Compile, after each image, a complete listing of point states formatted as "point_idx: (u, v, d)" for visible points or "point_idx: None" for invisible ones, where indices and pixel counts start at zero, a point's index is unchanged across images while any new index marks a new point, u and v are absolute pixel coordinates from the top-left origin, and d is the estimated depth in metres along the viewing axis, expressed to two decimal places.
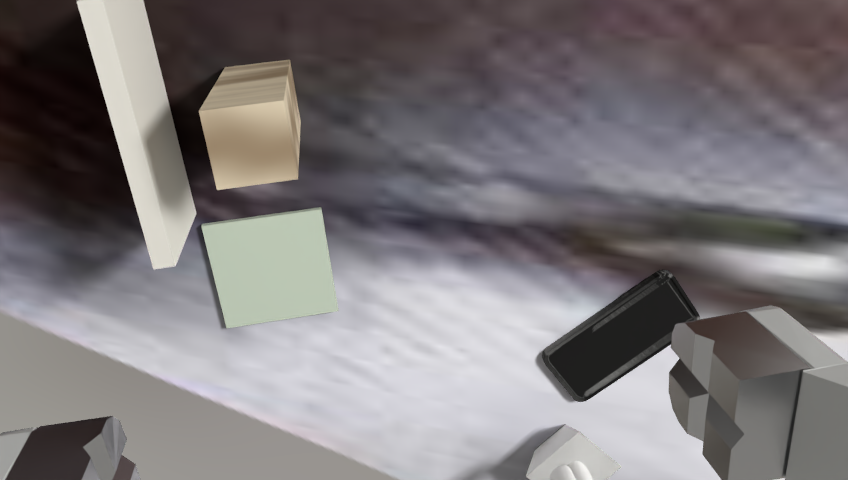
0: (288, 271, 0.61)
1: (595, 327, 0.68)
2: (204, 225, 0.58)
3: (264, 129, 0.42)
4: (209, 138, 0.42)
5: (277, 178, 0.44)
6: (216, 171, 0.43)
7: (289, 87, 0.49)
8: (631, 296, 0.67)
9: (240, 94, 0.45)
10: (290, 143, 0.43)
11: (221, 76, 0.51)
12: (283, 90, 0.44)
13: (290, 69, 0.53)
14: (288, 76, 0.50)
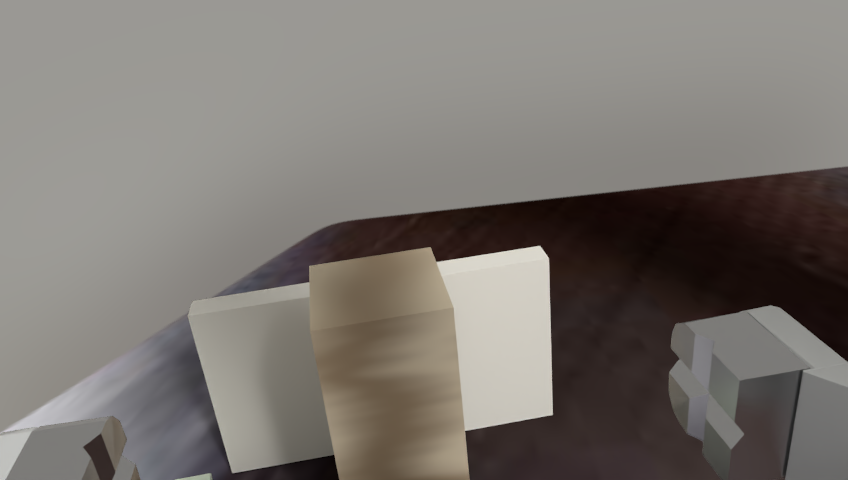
0: None
1: None
2: (210, 478, 0.37)
3: (403, 294, 0.26)
4: (390, 256, 0.28)
5: (315, 311, 0.25)
6: (338, 263, 0.28)
7: (448, 474, 0.27)
8: None
9: None
10: (377, 319, 0.24)
11: None
12: (458, 373, 0.26)
13: None
14: None
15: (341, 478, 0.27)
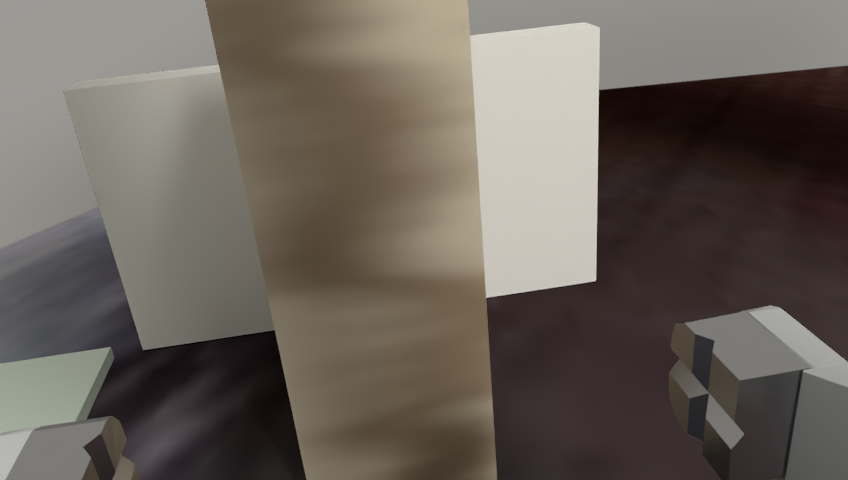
0: None
1: None
2: (109, 353, 0.26)
3: None
4: None
5: None
6: None
7: (450, 273, 0.16)
8: None
9: None
10: None
11: None
12: (470, 69, 0.15)
13: (476, 440, 0.18)
14: (476, 308, 0.17)
15: (266, 269, 0.16)
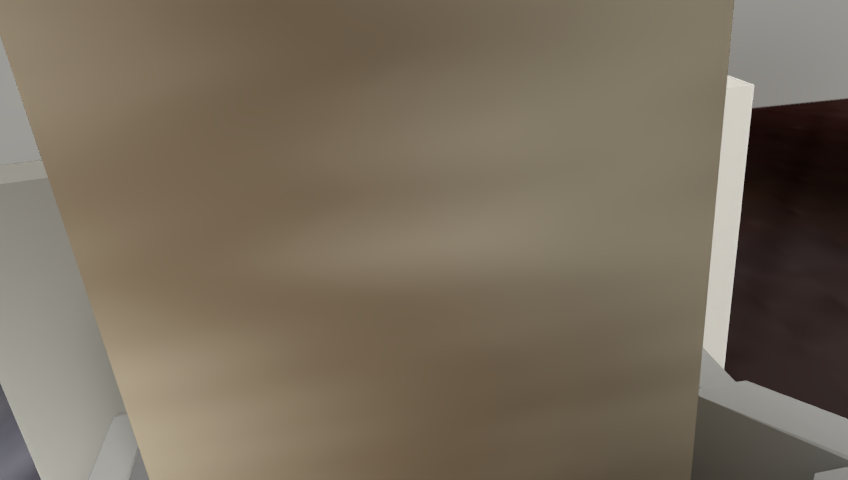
0: None
1: None
2: None
3: None
4: None
5: None
6: None
7: None
8: None
9: None
10: None
11: None
12: None
13: None
14: None
15: None
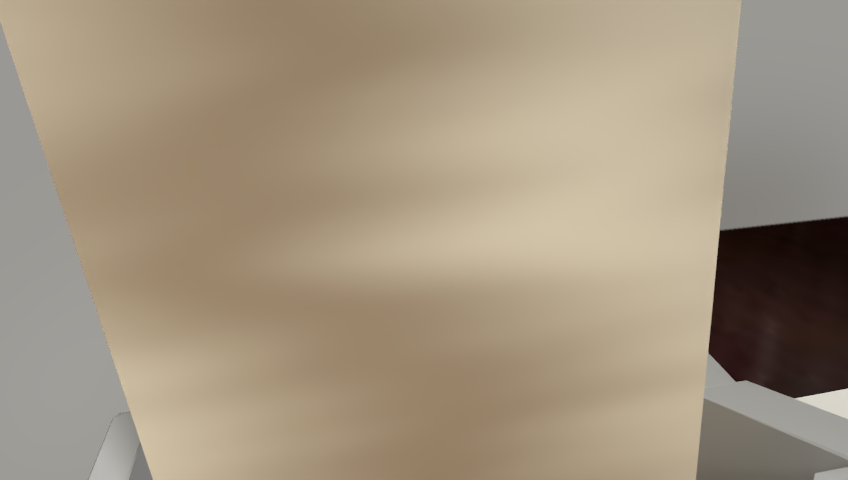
0: None
1: None
2: None
3: None
4: None
5: None
6: None
7: None
8: None
9: None
10: None
11: None
12: (707, 275, 0.06)
13: None
14: None
15: None
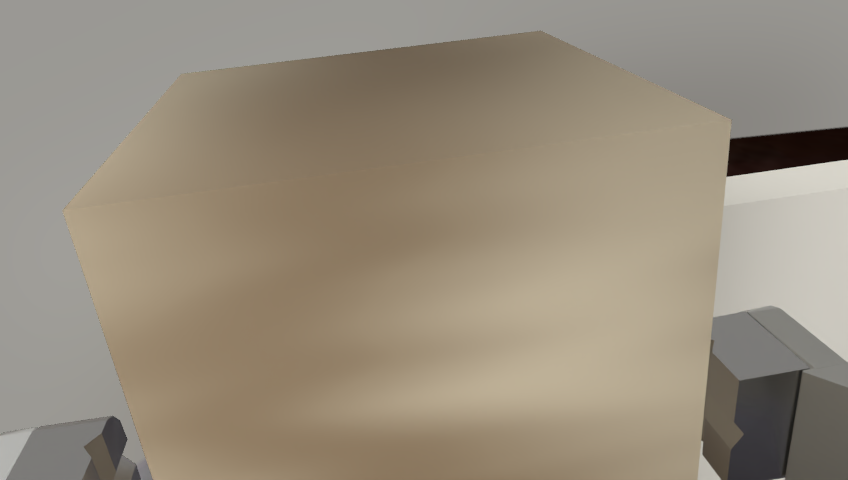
0: None
1: None
2: None
3: (489, 103, 0.07)
4: (424, 47, 0.10)
5: (134, 153, 0.06)
6: (269, 66, 0.09)
7: None
8: None
9: None
10: (388, 166, 0.05)
11: None
12: (697, 408, 0.07)
13: None
14: None
15: None
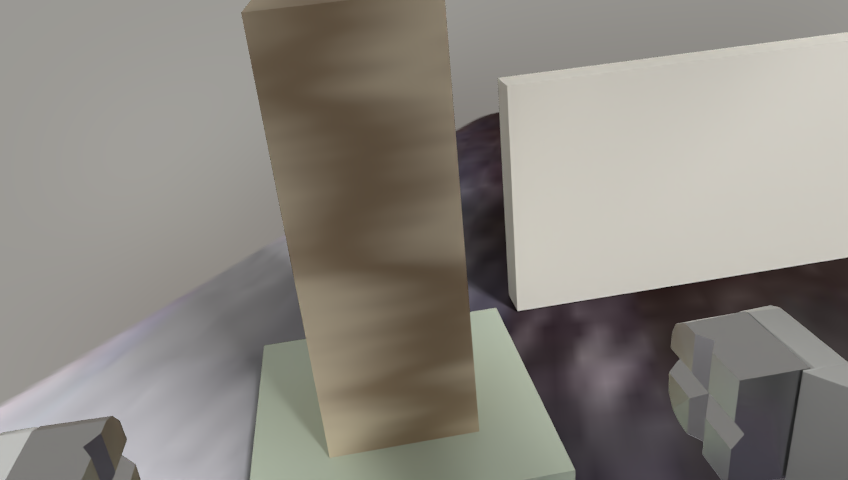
0: None
1: None
2: None
3: None
4: None
5: (254, 5, 0.18)
6: None
7: (438, 260, 0.20)
8: None
9: None
10: (336, 2, 0.17)
11: None
12: (452, 101, 0.19)
13: (461, 397, 0.23)
14: (460, 288, 0.21)
15: (293, 258, 0.20)
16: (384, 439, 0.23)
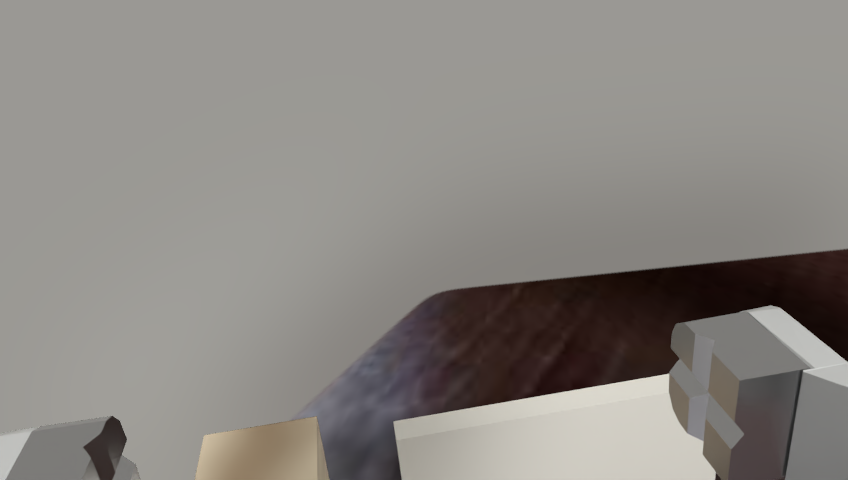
0: None
1: None
2: None
3: (277, 478, 0.28)
4: (278, 426, 0.31)
5: None
6: (230, 434, 0.31)
7: None
8: None
9: None
10: None
11: None
12: None
13: None
14: None
15: None
16: None
